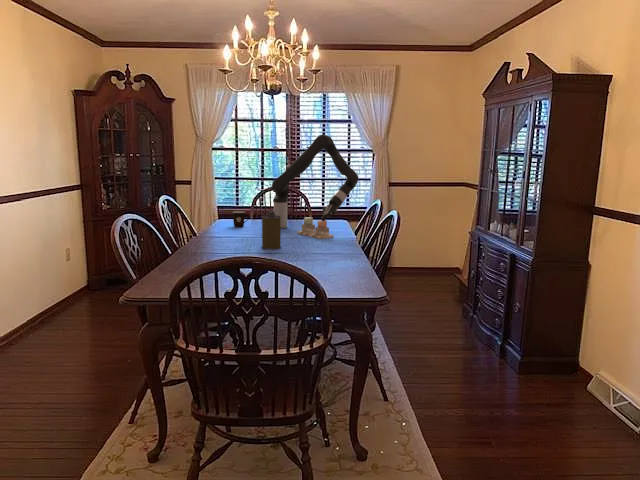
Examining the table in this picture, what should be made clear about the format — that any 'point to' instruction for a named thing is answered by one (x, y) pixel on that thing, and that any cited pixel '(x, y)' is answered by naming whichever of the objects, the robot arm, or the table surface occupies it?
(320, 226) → the brown rounded piece
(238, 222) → the coffee mug
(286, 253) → the table surface
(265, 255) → the table surface
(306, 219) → the pale green rounded knob
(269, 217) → the canister
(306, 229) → the button board
